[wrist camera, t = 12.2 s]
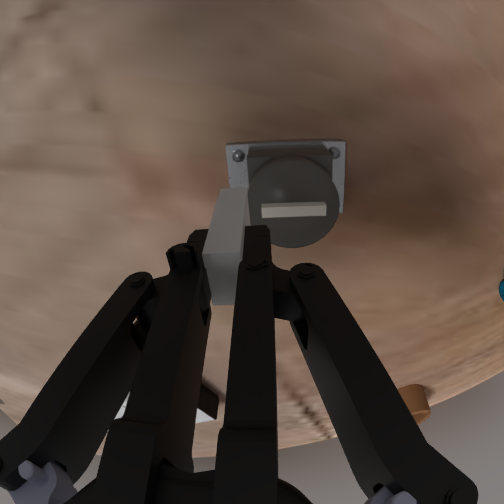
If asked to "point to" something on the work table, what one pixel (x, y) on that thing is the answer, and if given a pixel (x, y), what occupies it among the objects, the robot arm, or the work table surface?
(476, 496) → the robot arm
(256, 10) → the work table surface
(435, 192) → the work table surface
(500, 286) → the scissors
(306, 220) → the knob
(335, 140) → the mounting plate
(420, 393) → the bracket
